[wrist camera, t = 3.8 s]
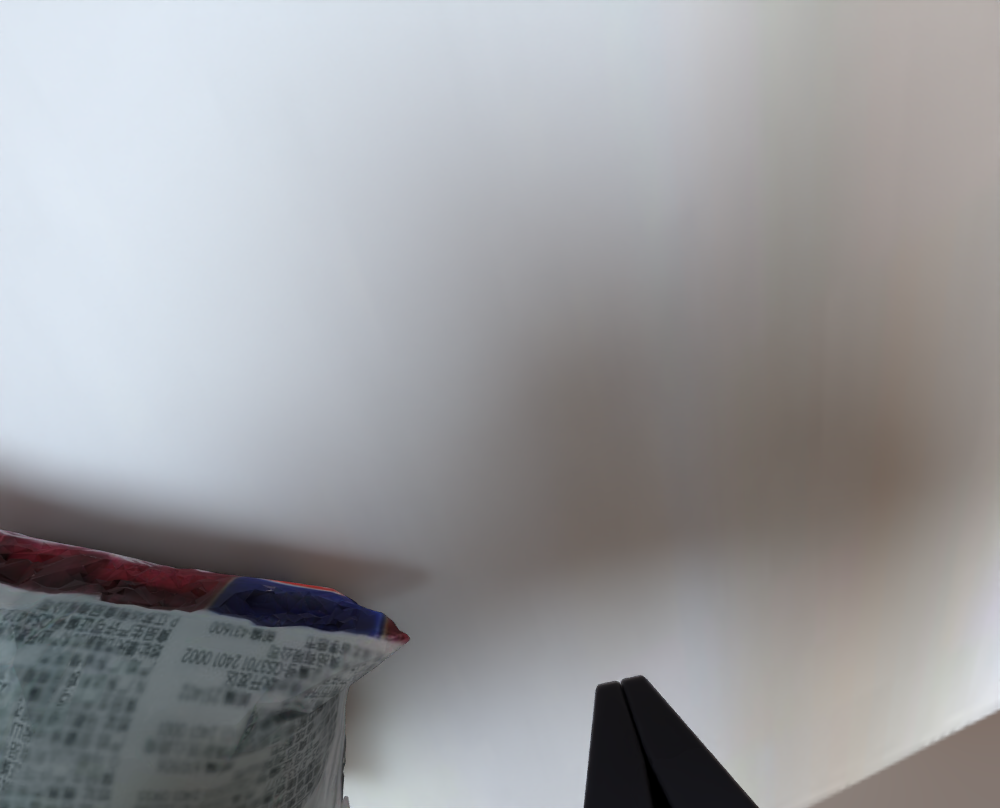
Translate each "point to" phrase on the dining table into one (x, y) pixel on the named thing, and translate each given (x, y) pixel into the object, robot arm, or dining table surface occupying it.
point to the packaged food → (173, 683)
